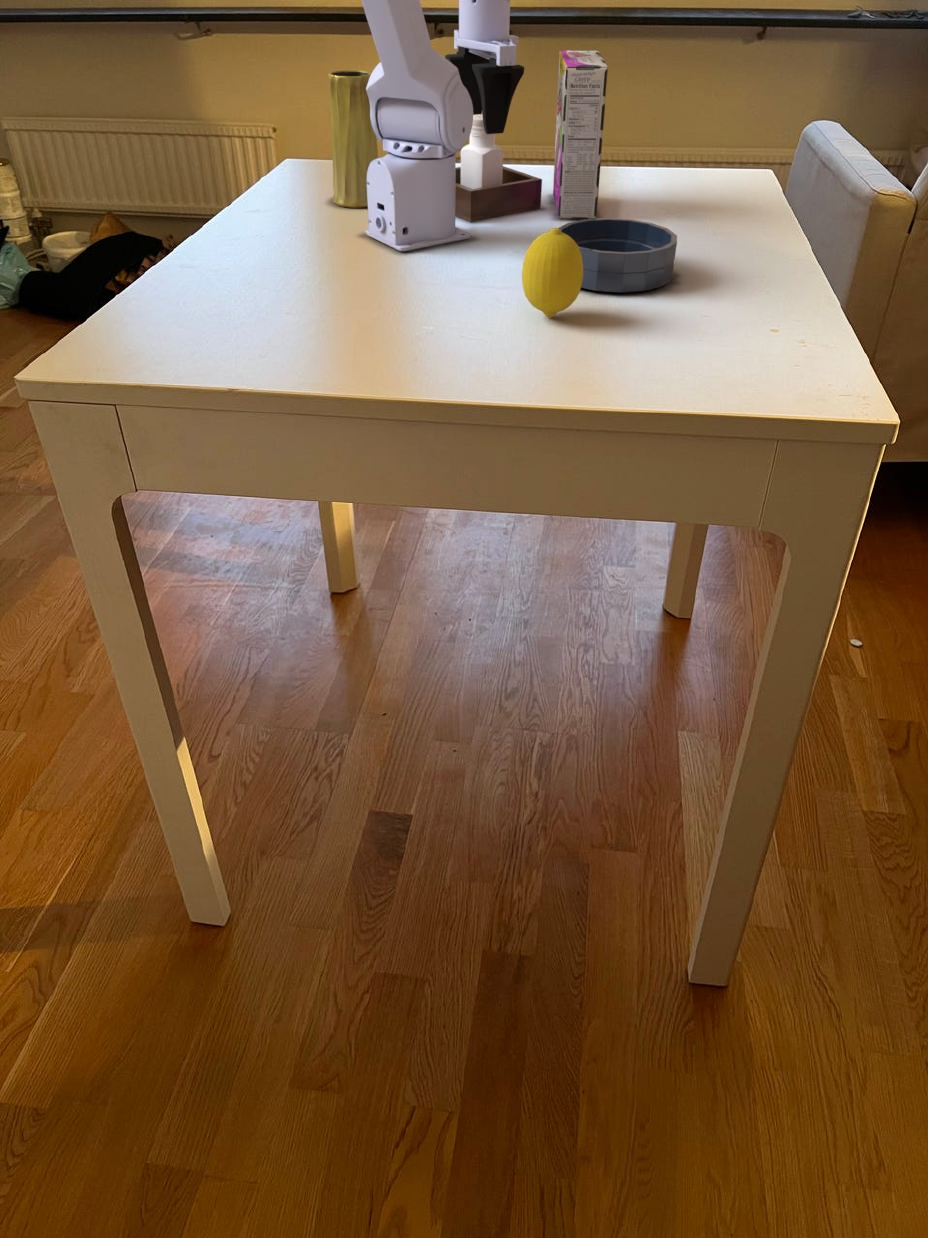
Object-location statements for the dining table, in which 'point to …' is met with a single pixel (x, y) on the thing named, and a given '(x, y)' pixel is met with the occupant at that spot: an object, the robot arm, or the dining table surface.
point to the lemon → (552, 272)
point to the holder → (498, 197)
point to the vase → (351, 136)
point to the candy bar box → (579, 133)
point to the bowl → (623, 253)
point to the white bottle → (481, 158)
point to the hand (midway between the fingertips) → (482, 126)
